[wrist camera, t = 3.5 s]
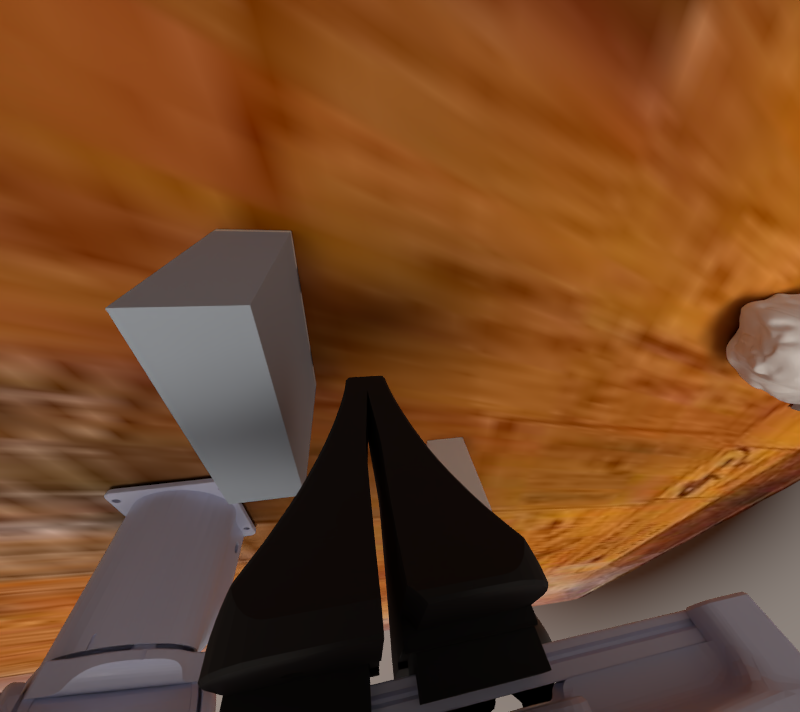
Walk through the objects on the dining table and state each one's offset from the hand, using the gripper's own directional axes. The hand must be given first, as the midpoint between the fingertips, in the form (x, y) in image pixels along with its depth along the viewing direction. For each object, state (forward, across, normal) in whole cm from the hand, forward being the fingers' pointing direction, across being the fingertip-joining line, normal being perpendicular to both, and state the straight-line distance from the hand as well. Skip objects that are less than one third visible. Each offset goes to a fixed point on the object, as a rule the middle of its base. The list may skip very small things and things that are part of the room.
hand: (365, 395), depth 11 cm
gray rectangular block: (+6, +4, 0) cm, 7 cm away
